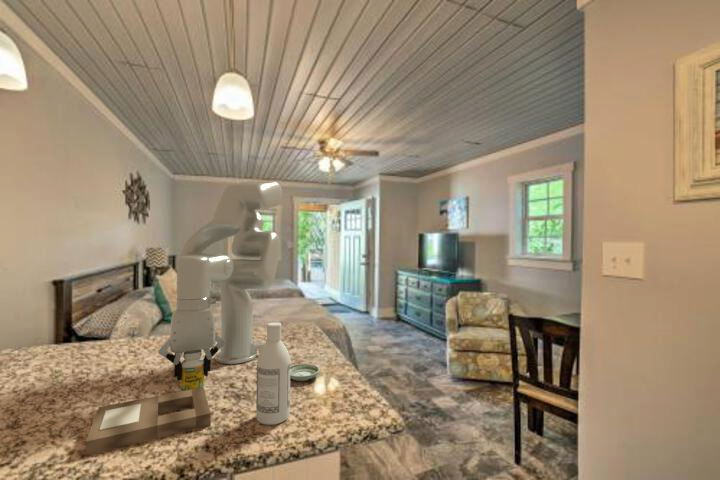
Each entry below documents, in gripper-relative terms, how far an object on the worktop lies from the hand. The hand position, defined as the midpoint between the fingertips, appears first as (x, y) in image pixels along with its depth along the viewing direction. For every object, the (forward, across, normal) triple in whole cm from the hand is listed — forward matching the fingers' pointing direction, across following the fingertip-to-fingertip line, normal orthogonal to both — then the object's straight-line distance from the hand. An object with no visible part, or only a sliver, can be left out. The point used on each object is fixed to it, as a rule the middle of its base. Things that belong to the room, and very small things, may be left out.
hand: (192, 375), depth 85 cm
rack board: (+3, +8, +13) cm, 16 cm away
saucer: (+4, -27, +6) cm, 28 cm away
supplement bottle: (+4, 0, 0) cm, 4 cm away
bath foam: (+4, -14, +23) cm, 27 cm away
